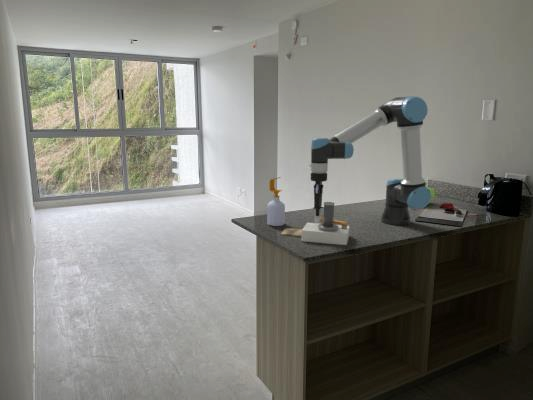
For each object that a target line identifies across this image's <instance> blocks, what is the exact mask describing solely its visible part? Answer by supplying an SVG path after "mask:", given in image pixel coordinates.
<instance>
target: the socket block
mask: <svg viewBox="0 0 533 400" xmlns="http://www.w3.org/2000/svg"><path fill="white" fill-rule="evenodd" d="M319 224H320V223H315V222H306V224H305V225H304V226H303V228H302V237H301V236H300V237H301V238H300V239H301V242H308V243H317V244H318V243H319V244H320V243H321V244H328V245H329V244H330V245H331V244H332V245H338V246H339V245H340V246H344V245H345V246H347V245H348V241H349V239H350V238H349V237H350V225H348V224H347V225H340V224H336V225H337V226H338V230H335V231H324V230H320V229H318V225H319Z"/></svg>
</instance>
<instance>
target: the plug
mask: <svg viewBox="0 0 533 400" xmlns="http://www.w3.org/2000/svg"><path fill="white" fill-rule="evenodd" d="M334 213H335V202H333V201H325V202H323V218H324V221H323V222H322V223H318V224H319V225H318V229H320V230H324V231H335V230H338V226H337V225H338V224H334V223H333V220H334Z"/></svg>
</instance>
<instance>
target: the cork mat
mask: <svg viewBox="0 0 533 400" xmlns="http://www.w3.org/2000/svg"><path fill="white" fill-rule="evenodd" d="M302 229H303V228H302ZM302 229H301V228H291V227H285V229H283V231H281V234H280V235H281V236H292V237H302Z"/></svg>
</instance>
